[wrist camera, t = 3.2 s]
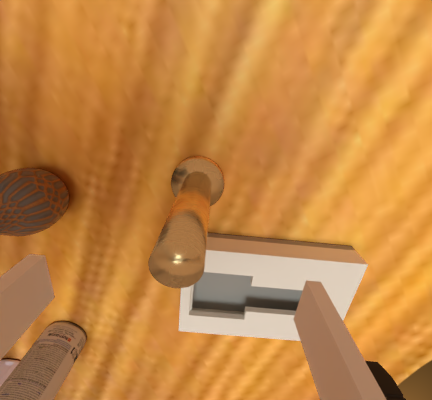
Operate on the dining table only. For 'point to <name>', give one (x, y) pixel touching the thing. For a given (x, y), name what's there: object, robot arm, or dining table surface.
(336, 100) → the dining table surface
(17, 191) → the vase
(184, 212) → the peg
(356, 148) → the dining table surface
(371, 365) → the robot arm
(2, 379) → the soap bottle
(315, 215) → the dining table surface
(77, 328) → the spray can
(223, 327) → the board
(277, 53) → the dining table surface
